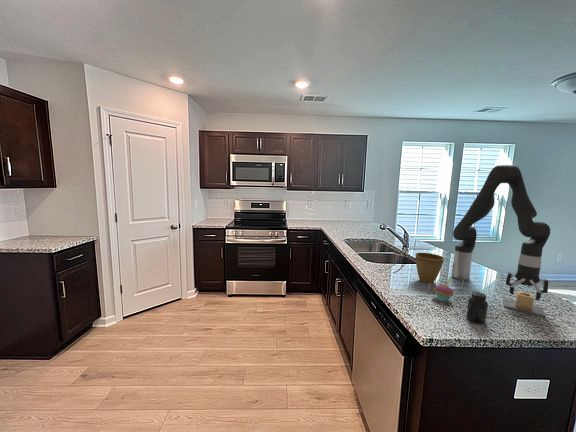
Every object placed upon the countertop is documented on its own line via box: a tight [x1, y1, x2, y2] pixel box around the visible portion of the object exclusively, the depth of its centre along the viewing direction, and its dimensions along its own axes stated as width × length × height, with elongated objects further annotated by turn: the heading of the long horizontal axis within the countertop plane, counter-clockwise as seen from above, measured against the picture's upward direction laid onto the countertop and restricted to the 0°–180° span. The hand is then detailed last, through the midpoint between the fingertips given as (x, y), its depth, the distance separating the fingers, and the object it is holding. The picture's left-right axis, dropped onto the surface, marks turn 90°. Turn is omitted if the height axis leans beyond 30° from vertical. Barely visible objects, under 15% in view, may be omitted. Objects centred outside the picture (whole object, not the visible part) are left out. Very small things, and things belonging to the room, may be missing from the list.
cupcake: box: [433, 277, 455, 302], centre depth 126 cm, size 9×8×12 cm
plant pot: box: [415, 252, 445, 285], centre depth 149 cm, size 15×15×16 cm
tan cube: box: [514, 290, 535, 310], centre depth 118 cm, size 6×6×6 cm
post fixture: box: [502, 298, 547, 318], centre depth 119 cm, size 14×10×6 cm
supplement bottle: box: [465, 291, 489, 325], centre depth 106 cm, size 7×7×12 cm
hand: (524, 297), depth 118 cm, fingers open, 8 cm apart
